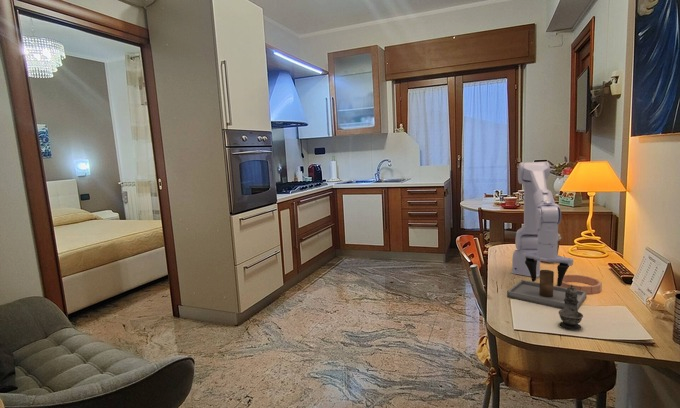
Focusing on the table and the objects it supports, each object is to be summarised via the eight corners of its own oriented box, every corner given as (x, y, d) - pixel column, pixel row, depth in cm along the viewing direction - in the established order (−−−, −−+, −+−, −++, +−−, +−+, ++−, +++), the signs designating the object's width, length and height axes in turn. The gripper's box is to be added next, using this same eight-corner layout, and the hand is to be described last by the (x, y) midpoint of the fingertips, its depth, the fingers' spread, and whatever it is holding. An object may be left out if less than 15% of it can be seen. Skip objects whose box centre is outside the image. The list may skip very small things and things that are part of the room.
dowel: (537, 295, 126) (538, 272, 125) (541, 291, 129) (542, 269, 128) (550, 298, 123) (551, 274, 122) (554, 294, 126) (555, 271, 125)
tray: (507, 297, 128) (507, 291, 127) (521, 285, 138) (521, 279, 137) (575, 311, 114) (576, 305, 114) (586, 297, 124) (586, 291, 124)
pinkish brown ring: (553, 288, 133) (553, 281, 133) (562, 278, 142) (563, 272, 142) (596, 296, 124) (596, 289, 124) (604, 285, 133) (604, 278, 133)
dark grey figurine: (553, 322, 108) (554, 281, 107) (572, 320, 109) (574, 280, 107) (567, 331, 102) (568, 289, 101) (587, 330, 103) (589, 287, 101)
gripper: (519, 242, 126) (519, 282, 127) (569, 248, 116) (568, 291, 117) (526, 238, 131) (526, 276, 132) (575, 243, 121) (574, 284, 122)
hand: (546, 283), depth 125 cm, fingers open, 7 cm apart
